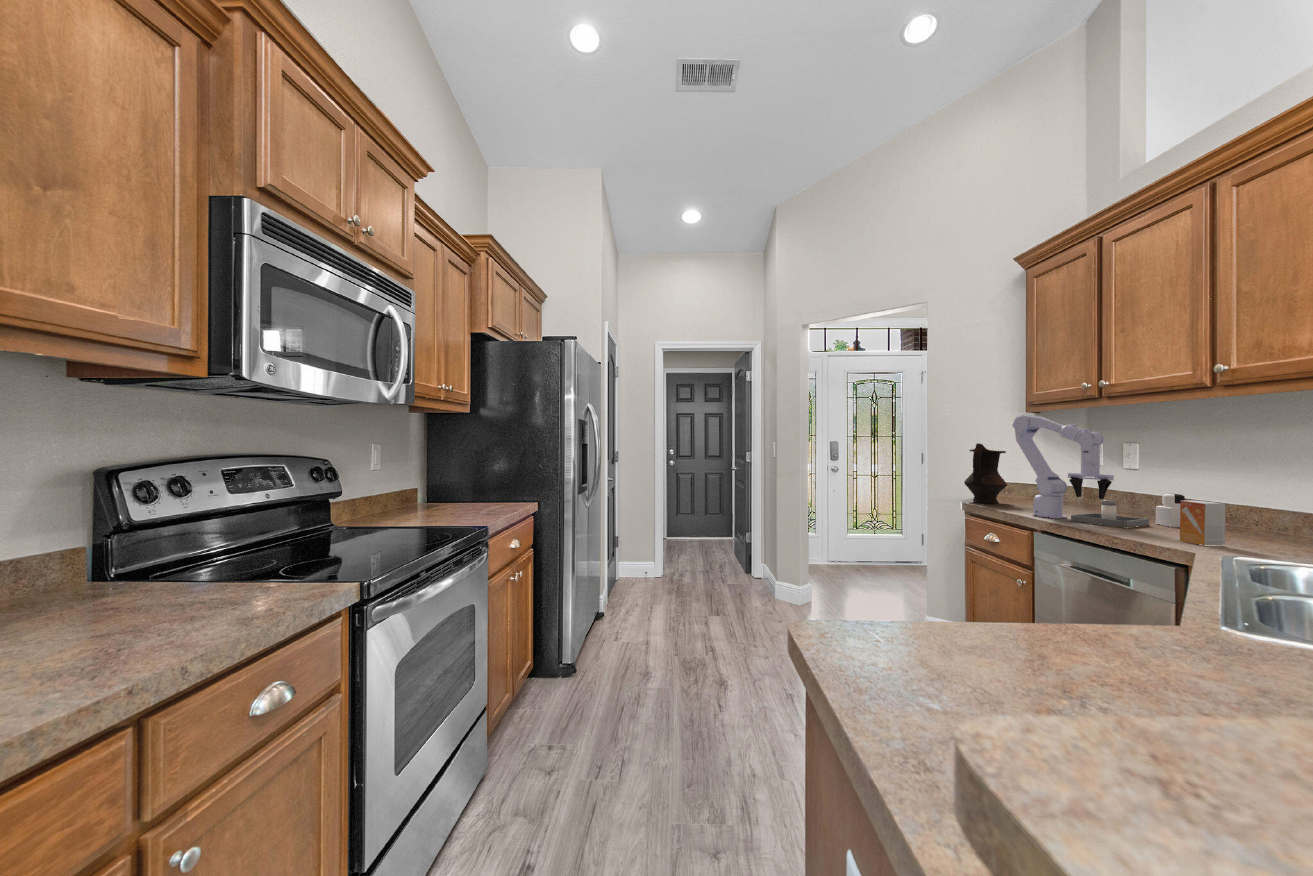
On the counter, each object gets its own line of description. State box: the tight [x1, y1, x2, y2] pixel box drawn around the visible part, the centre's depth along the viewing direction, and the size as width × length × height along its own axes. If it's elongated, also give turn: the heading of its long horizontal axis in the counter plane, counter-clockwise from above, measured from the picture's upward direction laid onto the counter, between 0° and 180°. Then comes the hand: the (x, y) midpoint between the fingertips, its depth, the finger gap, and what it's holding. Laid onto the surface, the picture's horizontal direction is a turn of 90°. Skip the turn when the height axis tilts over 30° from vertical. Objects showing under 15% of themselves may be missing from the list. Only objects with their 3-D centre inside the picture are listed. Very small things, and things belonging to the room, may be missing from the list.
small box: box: [1179, 499, 1226, 545], centre depth 168 cm, size 8×6×13 cm
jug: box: [963, 442, 1008, 505], centre depth 274 cm, size 21×18×30 cm
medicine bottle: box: [1155, 493, 1186, 528], centre depth 204 cm, size 7×7×12 cm
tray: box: [1070, 512, 1150, 529], centre depth 208 cm, size 18×16×2 cm
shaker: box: [1100, 499, 1118, 520], centre depth 208 cm, size 5×5×8 cm
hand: (1089, 497), depth 211 cm, fingers open, 7 cm apart
